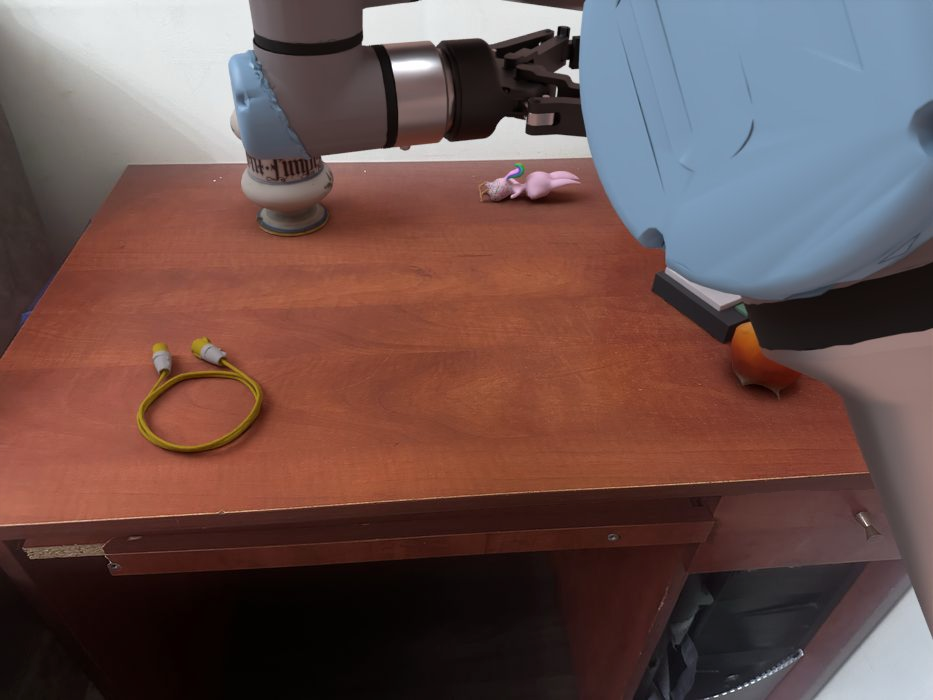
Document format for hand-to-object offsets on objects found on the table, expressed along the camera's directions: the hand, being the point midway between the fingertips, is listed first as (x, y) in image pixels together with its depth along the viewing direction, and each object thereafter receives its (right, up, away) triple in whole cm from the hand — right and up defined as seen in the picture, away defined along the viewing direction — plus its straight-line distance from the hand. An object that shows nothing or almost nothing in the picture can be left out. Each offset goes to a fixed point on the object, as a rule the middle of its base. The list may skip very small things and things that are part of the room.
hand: (674, 72), depth 61 cm
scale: (+13, -18, +26) cm, 34 cm away
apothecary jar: (-42, -6, +38) cm, 57 cm away
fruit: (+14, -27, +16) cm, 34 cm away
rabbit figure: (-9, -1, +45) cm, 46 cm away
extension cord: (-44, -29, +10) cm, 54 cm away
